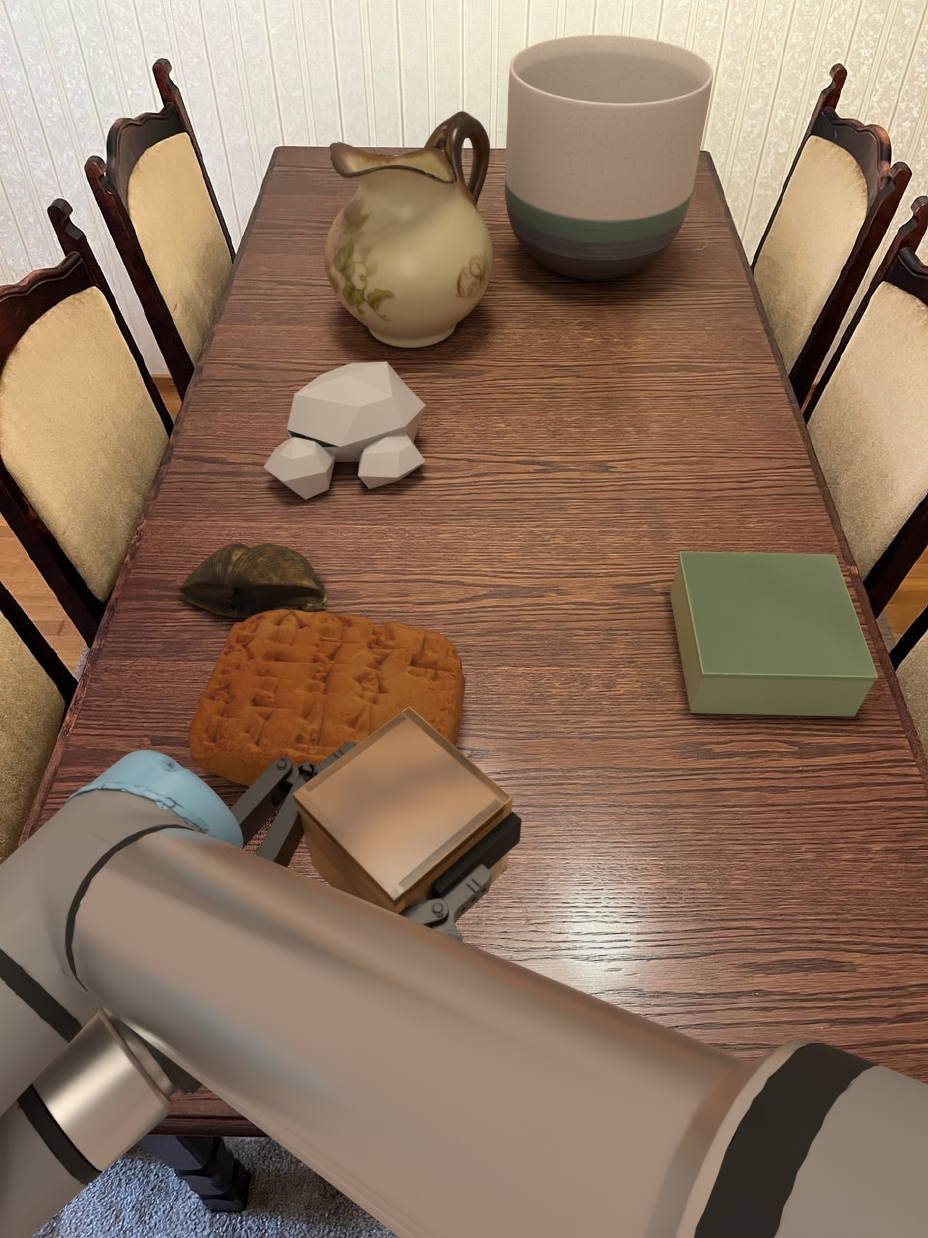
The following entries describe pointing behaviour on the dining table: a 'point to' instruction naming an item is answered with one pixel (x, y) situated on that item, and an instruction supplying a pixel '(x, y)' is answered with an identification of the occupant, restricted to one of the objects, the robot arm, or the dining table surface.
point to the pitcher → (412, 236)
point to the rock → (350, 429)
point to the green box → (769, 635)
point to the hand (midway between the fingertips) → (459, 776)
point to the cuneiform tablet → (318, 689)
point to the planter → (602, 150)
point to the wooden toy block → (398, 813)
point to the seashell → (254, 581)
